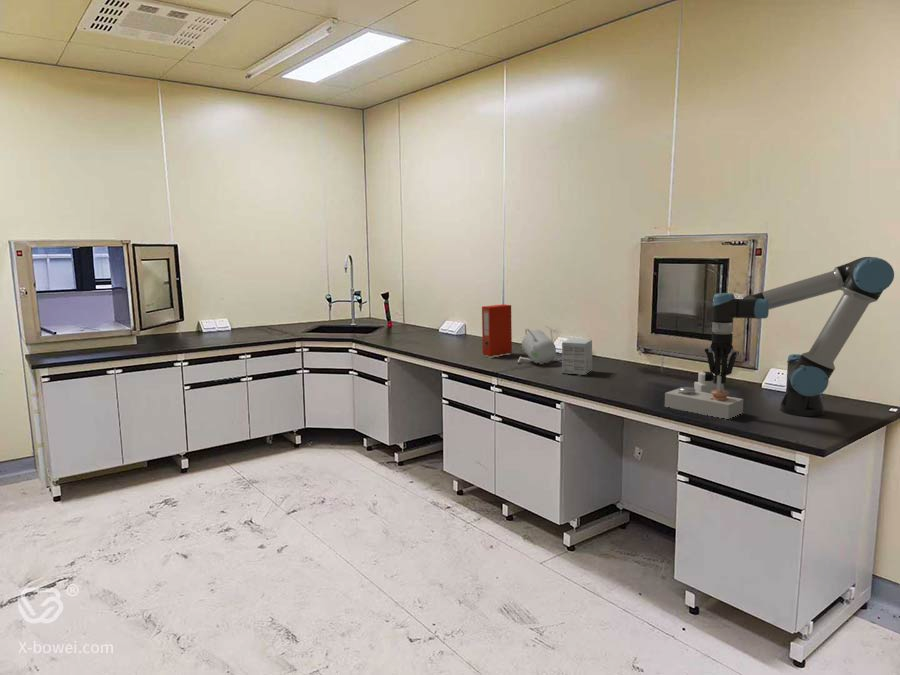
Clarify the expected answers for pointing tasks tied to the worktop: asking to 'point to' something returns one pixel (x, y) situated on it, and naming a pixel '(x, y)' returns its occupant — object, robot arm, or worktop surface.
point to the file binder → (496, 329)
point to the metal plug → (687, 390)
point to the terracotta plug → (720, 395)
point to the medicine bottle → (705, 382)
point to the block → (704, 404)
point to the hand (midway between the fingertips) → (719, 391)
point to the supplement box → (577, 356)
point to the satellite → (538, 346)
